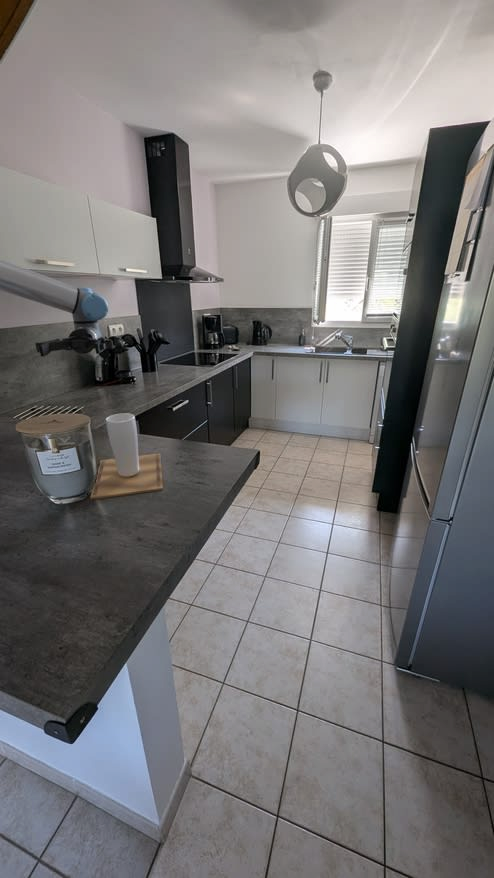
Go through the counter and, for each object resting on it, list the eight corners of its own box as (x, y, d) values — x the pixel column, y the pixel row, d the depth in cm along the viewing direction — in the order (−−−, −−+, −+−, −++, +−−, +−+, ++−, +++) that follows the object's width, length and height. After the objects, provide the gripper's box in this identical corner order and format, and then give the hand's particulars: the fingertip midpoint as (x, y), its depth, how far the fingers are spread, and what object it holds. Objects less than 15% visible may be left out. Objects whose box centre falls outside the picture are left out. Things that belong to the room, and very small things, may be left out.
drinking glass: (132, 481, 87) (123, 423, 81) (109, 477, 89) (99, 420, 83) (148, 468, 93) (140, 414, 87) (126, 465, 95) (117, 412, 89)
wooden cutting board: (101, 462, 98) (100, 459, 98) (160, 455, 102) (160, 453, 102) (90, 500, 80) (89, 497, 80) (162, 490, 84) (162, 487, 84)
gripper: (126, 350, 117) (120, 361, 98) (43, 354, 112) (20, 366, 93) (122, 326, 114) (116, 333, 95) (37, 329, 109) (13, 337, 90)
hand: (69, 349), depth 94 cm, fingers open, 13 cm apart
